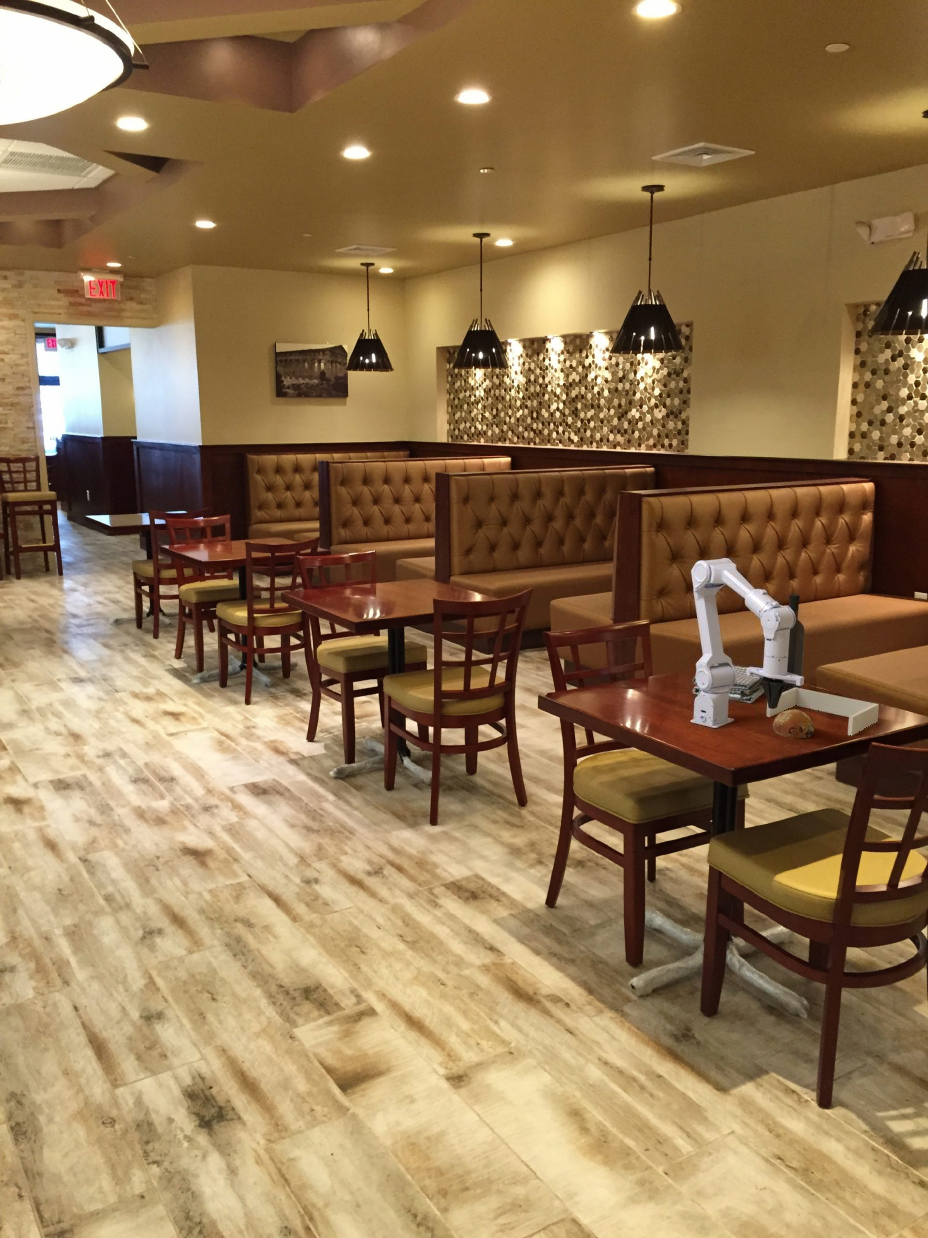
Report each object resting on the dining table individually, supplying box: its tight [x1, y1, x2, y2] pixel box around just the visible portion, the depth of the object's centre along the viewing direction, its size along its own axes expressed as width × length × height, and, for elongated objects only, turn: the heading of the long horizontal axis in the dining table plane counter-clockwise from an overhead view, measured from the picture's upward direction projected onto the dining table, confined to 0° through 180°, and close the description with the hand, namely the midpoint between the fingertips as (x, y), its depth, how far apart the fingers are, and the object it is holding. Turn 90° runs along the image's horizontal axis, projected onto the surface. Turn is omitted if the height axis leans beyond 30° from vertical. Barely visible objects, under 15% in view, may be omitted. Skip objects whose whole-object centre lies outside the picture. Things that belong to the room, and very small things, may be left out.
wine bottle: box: [782, 593, 806, 693], centre depth 291 cm, size 6×6×30 cm
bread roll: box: [772, 709, 815, 740], centre depth 259 cm, size 10×10×8 cm
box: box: [766, 687, 880, 737], centre depth 270 cm, size 16×24×5 cm, turn 45°
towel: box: [691, 664, 765, 704], centre depth 294 cm, size 15×18×8 cm
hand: (772, 707), depth 249 cm, fingers closed
